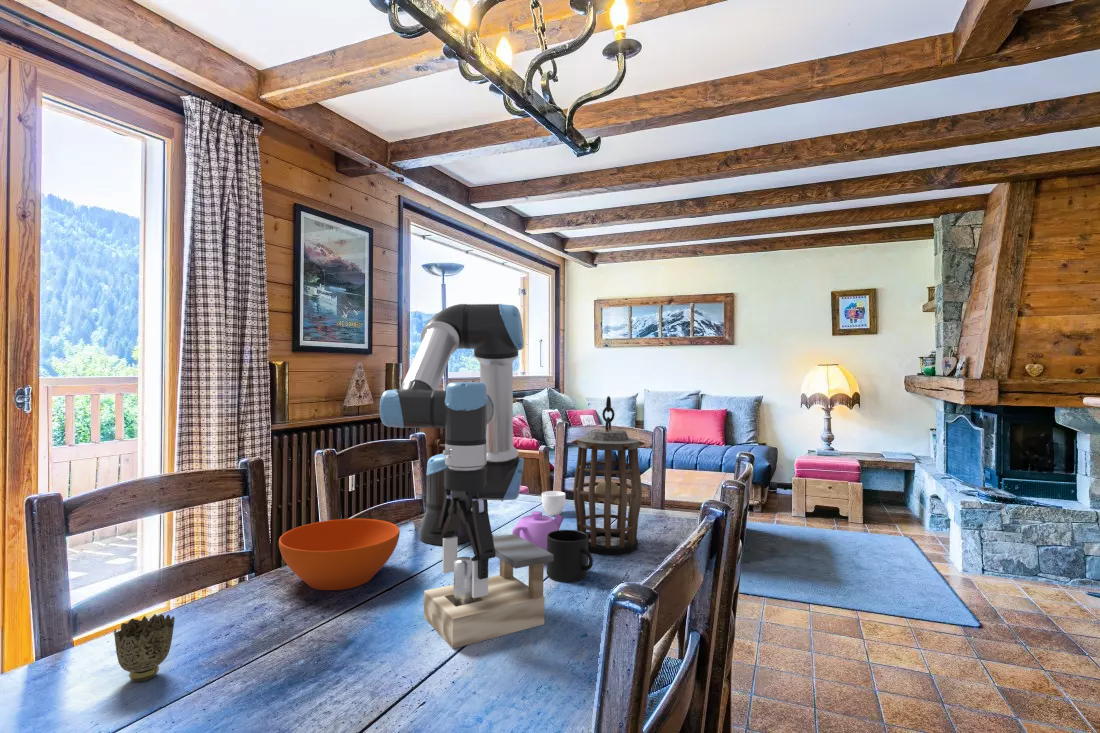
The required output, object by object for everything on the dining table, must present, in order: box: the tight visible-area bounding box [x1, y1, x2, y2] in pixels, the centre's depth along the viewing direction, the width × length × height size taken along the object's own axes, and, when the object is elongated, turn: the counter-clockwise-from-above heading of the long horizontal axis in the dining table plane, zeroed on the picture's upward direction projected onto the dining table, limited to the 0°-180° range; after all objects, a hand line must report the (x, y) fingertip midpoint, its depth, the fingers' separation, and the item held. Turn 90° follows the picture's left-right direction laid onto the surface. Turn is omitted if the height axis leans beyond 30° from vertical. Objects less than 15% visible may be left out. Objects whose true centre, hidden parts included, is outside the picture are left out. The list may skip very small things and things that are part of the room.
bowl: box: [278, 518, 401, 591], centre depth 126 cm, size 25×25×10 cm
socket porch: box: [423, 533, 554, 650], centre depth 106 cm, size 15×20×13 cm
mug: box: [546, 529, 594, 583], centre depth 129 cm, size 9×12×9 cm
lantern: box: [571, 395, 646, 557], centre depth 152 cm, size 19×19×40 cm
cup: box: [541, 490, 566, 517], centre depth 185 cm, size 8×10×7 cm
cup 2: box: [113, 613, 176, 683], centre depth 85 cm, size 8×7×8 cm
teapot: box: [511, 510, 564, 551], centre depth 145 cm, size 14×20×11 cm
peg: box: [453, 556, 474, 607], centre depth 104 cm, size 4×4×12 cm
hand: (464, 583), depth 104 cm, fingers open, 13 cm apart
